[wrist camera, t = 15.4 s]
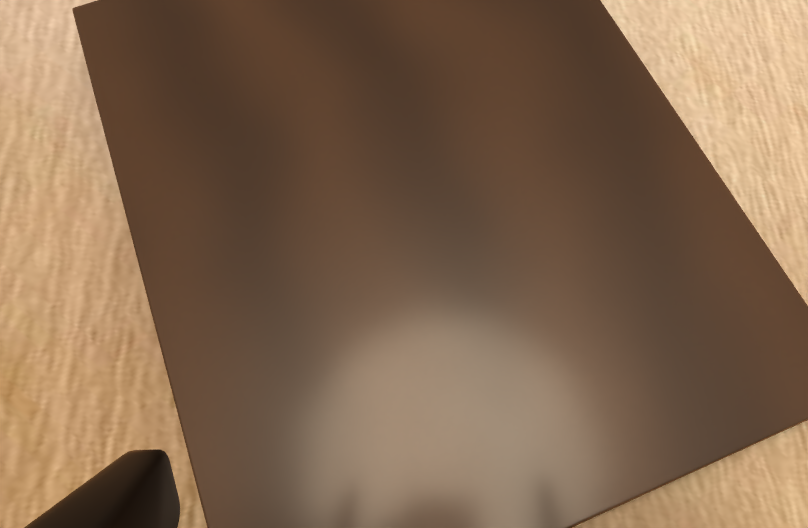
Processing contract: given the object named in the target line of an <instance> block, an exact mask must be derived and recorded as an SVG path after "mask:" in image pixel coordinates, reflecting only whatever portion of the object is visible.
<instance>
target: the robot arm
mask: <svg viewBox="0 0 808 528" xmlns="http://www.w3.org/2000/svg"><path fill="white" fill-rule="evenodd" d="M179 516H180V502H179V497H178V493H177V489H176V485H175V481H174V477H173V473H172V469H171V465H170V461H169V458H168V456H167V454H166V453H165V452H164V451H162V450H134V451H130V452H127V453H126V454H124V455H122V456H121V457H120V458H118V459H117V460H116V461H114V462H113V463H112V464H110V465H109V466H107V467H106V468H105V469H103V470H102V471H101V472H99V473H98V474H97V475H95V476H94V477H93V478H91V479H90V480H88V481H87V482H86V483H84V484H83V485H82V486H80V487H79V488H78V489H76V490H75V491H73V492H72V493H71V494H69V495H68V496H67V497H65V498H64V499H63V500H61V501H60V502H59V503H57V504H56V505H54V506H53V507H52V508H50V509H49V510H48V511H46V512H45V513H44V514H42V515H41V516H39V517H38V518H37V519H35V520H34V521H33V522H31V523H30V524H29V525H27V526H26V527H25V528H177V527H178V522H179Z"/></svg>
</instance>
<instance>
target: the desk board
mask: <svg viewBox="0 0 808 528" xmlns="http://www.w3.org/2000/svg"><path fill="white" fill-rule="evenodd" d="M73 14H74V18H75V22H76V25H77V29H78V33H79V37H80V41H81V45H82V48H83V52H84V56H85V60H86V64H87V68H88V71H89V75H90V79H91V83H92V87H93V90H94V94H95V98H96V102H97V106H98V110H99V113H100V117H101V121H102V125H103V129H104V133H105V136H106V140H107V144H108V148H109V152H110V156H111V159H112V163H113V167H114V171H115V175H116V179H117V182H118V186H119V190H120V194H121V198H122V201H123V205H124V209H125V213H126V217H127V221H128V224H129V228H130V232H131V236H132V240H133V244H134V247H135V251H136V255H137V259H138V263H139V267H140V270H141V274H142V278H143V282H144V286H145V290H146V293H147V297H148V301H149V305H150V309H151V313H152V316H153V320H154V324H155V328H156V332H157V335H158V339H159V343H160V347H161V351H162V355H163V358H164V362H165V366H166V370H167V374H168V378H169V381H170V385H171V389H172V393H173V397H174V401H175V404H176V408H177V412H178V416H179V420H180V424H181V427H182V431H183V435H184V439H185V443H186V447H187V450H188V454H189V458H190V462H191V466H192V469H193V473H194V477H195V481H196V485H197V489H198V492H199V496H200V500H201V504H202V508H203V512H204V515H205V519H206V523H207V527H208V528H572V527H574V526H576V525H578V524H580V523H583V522H585V521H587V520H589V519H591V518H594V517H596V516H598V515H600V514H602V513H605V512H607V511H609V510H611V509H613V508H616V507H618V506H620V505H622V504H624V503H627V502H629V501H631V500H633V499H635V498H637V497H640V496H642V495H644V494H646V493H648V492H651V491H653V490H655V489H657V488H659V487H662V486H664V485H666V484H668V483H670V482H673V481H675V480H677V479H679V478H681V477H684V476H686V475H688V474H690V473H692V472H694V471H697V470H699V469H701V468H703V467H705V466H708V465H710V464H712V463H714V462H716V461H719V460H721V459H723V458H725V457H727V456H730V455H732V454H734V453H736V452H738V451H741V450H743V449H745V448H747V447H749V446H752V445H754V444H756V443H758V442H760V441H762V440H765V439H767V438H769V437H771V436H773V435H776V434H778V433H780V432H782V431H784V430H787V429H789V428H791V427H793V426H795V425H798V424H800V423H802V422H804V421H806V420H808V306H807V304H806V303H805V301H804V300H803V298H802V297H801V295H800V294H799V293H798V291H797V290H796V288H795V287H794V285H793V284H792V282H791V281H790V279H789V278H788V276H787V275H786V273H785V272H784V270H783V269H782V268H781V266H780V265H779V263H778V262H777V260H776V259H775V257H774V256H773V254H772V253H771V251H770V250H769V248H768V247H767V245H766V244H765V242H764V241H763V240H762V238H761V237H760V235H759V234H758V232H757V231H756V229H755V228H754V226H753V225H752V223H751V222H750V220H749V219H748V217H747V216H746V214H745V213H744V212H743V210H742V209H741V207H740V206H739V204H738V203H737V201H736V200H735V198H734V197H733V195H732V194H731V192H730V191H729V189H728V188H727V186H726V185H725V184H724V182H723V181H722V179H721V178H720V176H719V175H718V173H717V172H716V170H715V169H714V167H713V166H712V164H711V163H710V161H709V160H708V158H707V157H706V156H705V154H704V153H703V151H702V150H701V148H700V147H699V145H698V144H697V142H696V141H695V139H694V138H693V136H692V135H691V133H690V132H689V130H688V129H687V128H686V126H685V125H684V123H683V122H682V120H681V119H680V117H679V116H678V114H677V113H676V111H675V110H674V108H673V107H672V105H671V104H670V102H669V101H668V100H667V98H666V97H665V95H664V94H663V92H662V91H661V89H660V88H659V86H658V85H657V83H656V82H655V80H654V79H653V77H652V76H651V74H650V73H649V72H648V70H647V69H646V67H645V66H644V64H643V63H642V61H641V60H640V58H639V57H638V55H637V54H636V52H635V51H634V49H633V48H632V46H631V45H630V44H629V42H628V41H627V39H626V38H625V36H624V35H623V33H622V32H621V30H620V29H619V27H618V26H617V24H616V23H615V21H614V20H613V18H612V17H611V16H610V14H609V13H608V11H607V10H606V8H605V7H604V5H603V4H602V2H601V1H600V0H98V1H94V2H91V3H88V4H85V5H81V6H78V7H75V8H73Z"/></svg>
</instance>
